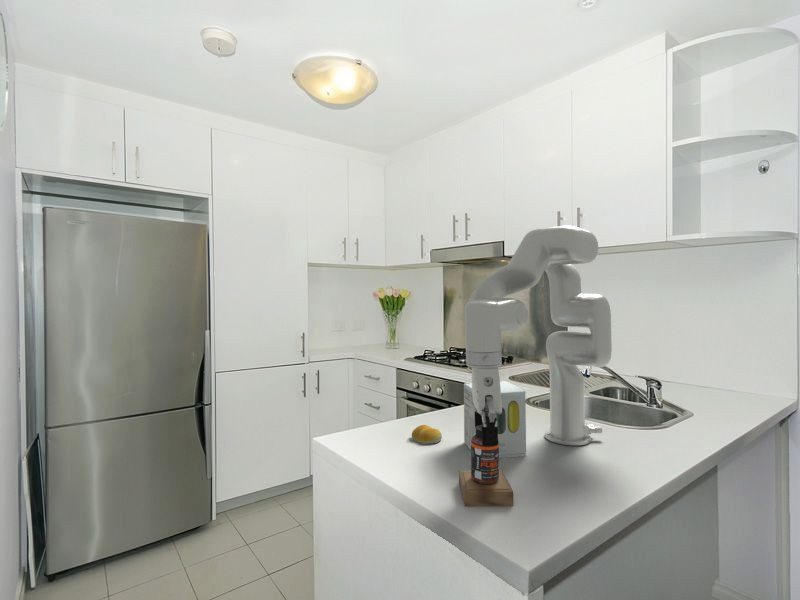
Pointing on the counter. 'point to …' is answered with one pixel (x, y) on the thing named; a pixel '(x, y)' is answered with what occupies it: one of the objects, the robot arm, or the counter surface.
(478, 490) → the walnut base
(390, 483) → the counter surface
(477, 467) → the supplement bottle
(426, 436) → the bread roll
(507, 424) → the supplement box
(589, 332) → the robot arm
